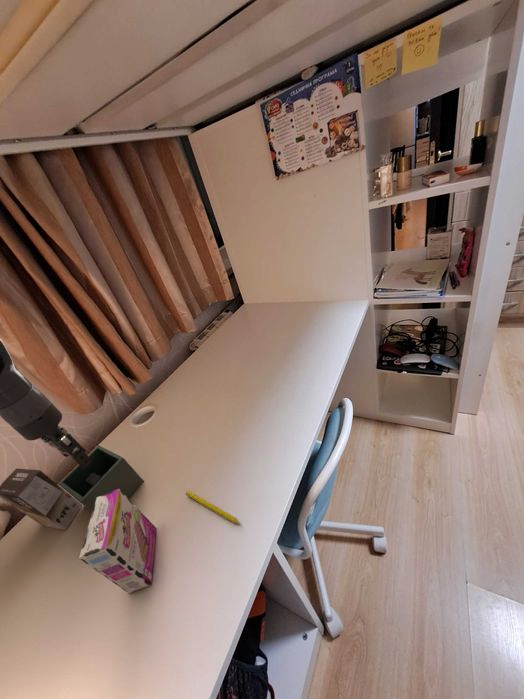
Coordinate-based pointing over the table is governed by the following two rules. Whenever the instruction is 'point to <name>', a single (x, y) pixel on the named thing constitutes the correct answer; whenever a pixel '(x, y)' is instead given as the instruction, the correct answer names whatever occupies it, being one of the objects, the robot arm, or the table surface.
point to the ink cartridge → (93, 479)
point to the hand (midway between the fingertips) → (78, 458)
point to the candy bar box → (120, 542)
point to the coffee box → (39, 498)
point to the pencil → (212, 507)
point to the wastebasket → (113, 478)
